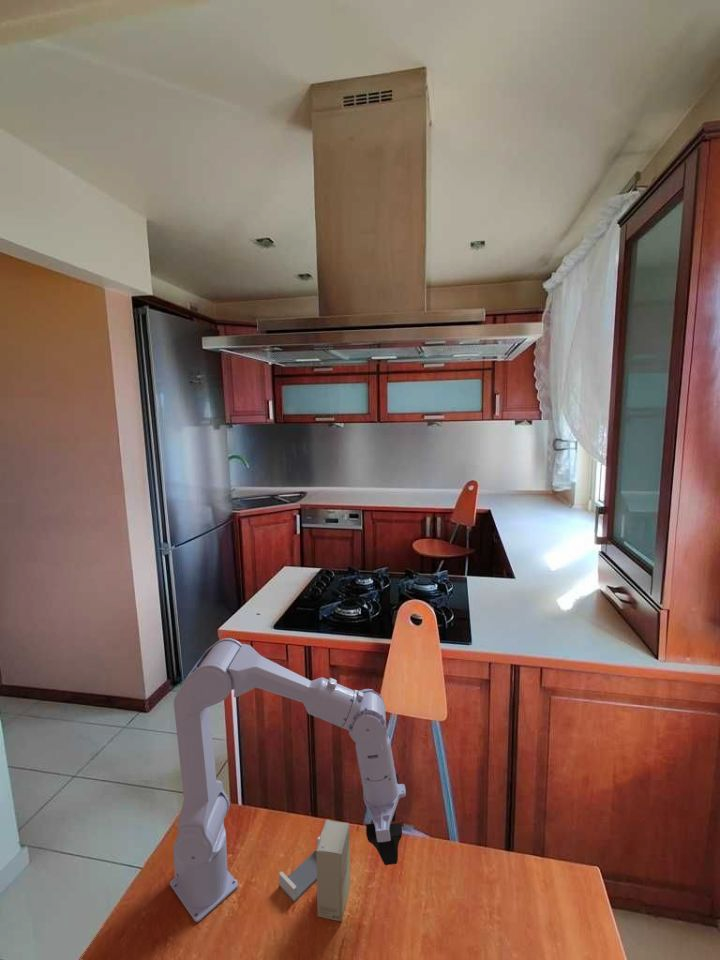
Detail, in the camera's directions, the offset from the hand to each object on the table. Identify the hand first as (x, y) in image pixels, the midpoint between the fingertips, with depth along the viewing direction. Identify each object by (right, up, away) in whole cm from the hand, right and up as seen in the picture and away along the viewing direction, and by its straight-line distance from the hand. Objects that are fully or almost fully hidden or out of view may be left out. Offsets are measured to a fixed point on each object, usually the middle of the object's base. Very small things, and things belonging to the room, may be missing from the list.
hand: (389, 840), depth 76 cm
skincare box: (-9, -11, +1) cm, 14 cm away
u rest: (-14, -10, +5) cm, 18 cm away
